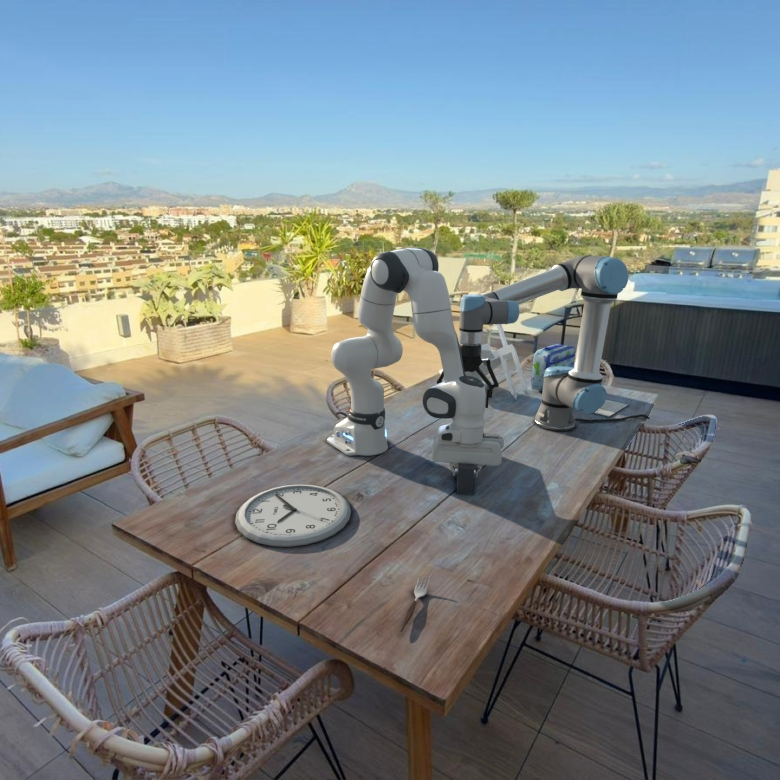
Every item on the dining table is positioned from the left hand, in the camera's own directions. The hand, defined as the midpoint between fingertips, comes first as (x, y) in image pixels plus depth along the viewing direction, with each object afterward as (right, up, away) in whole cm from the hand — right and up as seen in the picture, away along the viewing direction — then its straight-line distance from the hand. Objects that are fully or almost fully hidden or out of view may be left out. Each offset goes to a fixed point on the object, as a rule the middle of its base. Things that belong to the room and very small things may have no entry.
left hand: (464, 476), depth 154 cm
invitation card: (+69, +18, +72) cm, 102 cm away
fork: (-17, -18, -49) cm, 55 cm away
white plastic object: (+20, +24, +89) cm, 94 cm away
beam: (+2, +1, +13) cm, 13 cm away
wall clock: (-47, -7, -16) cm, 51 cm away
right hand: (+3, +20, +21) cm, 29 cm away
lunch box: (+55, +26, +97) cm, 114 cm away
